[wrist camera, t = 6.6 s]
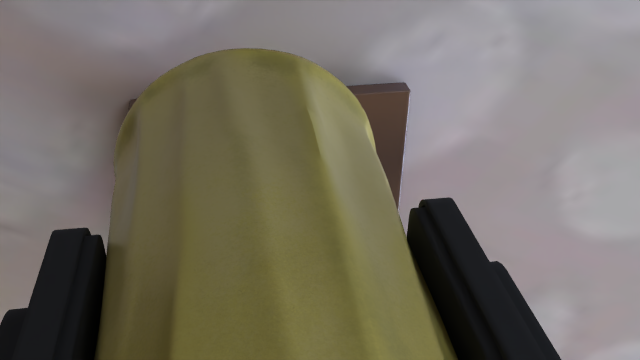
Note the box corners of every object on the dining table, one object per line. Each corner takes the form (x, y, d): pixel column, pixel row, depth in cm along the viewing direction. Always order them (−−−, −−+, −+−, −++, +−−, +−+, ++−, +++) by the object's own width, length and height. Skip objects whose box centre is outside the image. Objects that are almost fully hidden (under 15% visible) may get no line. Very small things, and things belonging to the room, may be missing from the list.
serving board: (130, 98, 28) (128, 108, 27) (405, 81, 30) (411, 90, 29) (180, 384, 39) (180, 397, 38) (379, 358, 41) (383, 370, 40)
